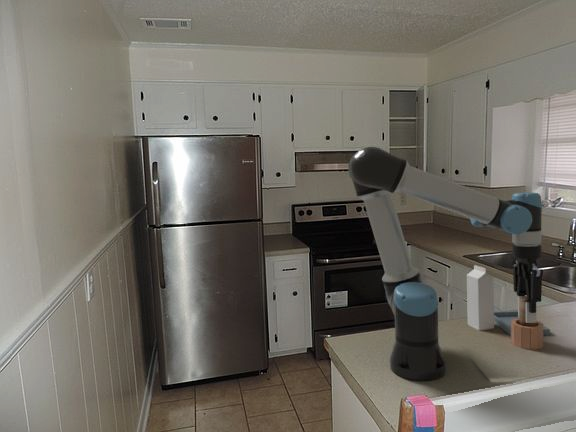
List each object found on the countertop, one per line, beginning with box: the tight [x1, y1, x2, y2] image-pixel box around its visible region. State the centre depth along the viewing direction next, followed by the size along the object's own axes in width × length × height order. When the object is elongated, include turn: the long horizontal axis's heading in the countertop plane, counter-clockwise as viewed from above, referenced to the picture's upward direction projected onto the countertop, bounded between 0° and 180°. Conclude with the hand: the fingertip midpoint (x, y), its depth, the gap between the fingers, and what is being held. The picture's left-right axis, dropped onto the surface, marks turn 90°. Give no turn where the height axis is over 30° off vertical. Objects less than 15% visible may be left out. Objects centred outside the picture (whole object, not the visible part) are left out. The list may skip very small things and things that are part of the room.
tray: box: [494, 310, 551, 337], centre depth 139 cm, size 12×18×3 cm, turn 176°
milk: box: [466, 264, 495, 331], centre depth 139 cm, size 6×6×22 cm
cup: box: [510, 318, 544, 350], centre depth 124 cm, size 8×8×8 cm
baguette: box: [519, 297, 535, 327], centre depth 124 cm, size 4×4×14 cm
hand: (526, 319), depth 124 cm, fingers closed on baguette, 4 cm apart
